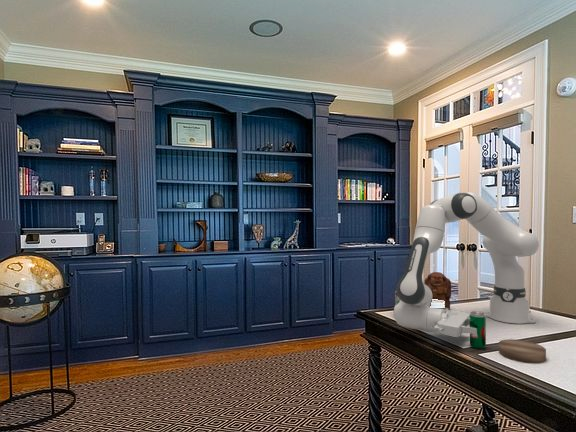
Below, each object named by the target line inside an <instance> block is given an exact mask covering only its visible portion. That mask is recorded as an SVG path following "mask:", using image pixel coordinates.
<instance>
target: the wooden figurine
mask: <svg viewBox="0 0 576 432" xmlns="http://www.w3.org/2000/svg"><path fill="white" fill-rule="evenodd" d="M424 284H426V285H427V286H428V287H429V288H430V289H431V291H432V294H433V297H432V299H438V300H444V301H445V308H448V310H451V298H452V281H451V280H450V278H448V277H447V276H446V275H445V274H444V273H442V272H440V271H439V272H438V271H433V272H430V273H429V274H428V275H427V277H426V278H425V279H424Z"/></svg>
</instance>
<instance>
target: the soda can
mask: <svg viewBox="0 0 576 432" xmlns="http://www.w3.org/2000/svg"><path fill="white" fill-rule="evenodd" d="M469 314H470V325H469V327H476V328H477V333H476V334H474V333H469V346H470V347H471V348H472V349H475V348H476V349H477V350H484V349H485V348H486V347H487V316H485V314H486V313H485V312H483V311H478V310H471V311H470V313H469Z"/></svg>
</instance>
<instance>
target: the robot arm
mask: <svg viewBox="0 0 576 432" xmlns="http://www.w3.org/2000/svg"><path fill="white" fill-rule="evenodd" d="M461 220H466V221H467V222H468V223H469V224H470V225H471V226H472V227H473V228H474V229H475V230H476V231H478V233H479V234H480V235H482V236H483V238H482V244H483V245H482V246H483V247H484V249H486V251H487V252H488V253H489V256H490V259H491V261H492V264H493V267H494V269H493V270H494V286H493V294H494V295H492V296H491V297H490V299H489V311H488V312H486V313H485V316H486V318H491V319H492V320H495V321H498V322H503V323H509V324H519V325H520V324H535V323H536V320H535V317H534V316H533V314H532V313H531V310H530V302H529V301H528V300H527V299H526V297H527V295H526V294H527V291H526V288H525V270H524V268H523V267H522V266H521V265H520V264H519V262H518V260H517V257H518V258H521V257H522V258H525V257H531V256H533V255H535V254H536V253H537V252H538V250H539V247H540V243H539V239H538V237H537V236H536V235H535V234H534V233H531V232H529V231H526V230H524V229H522V228H521V227H519V226H518V225H516V224H515V223H513V222H511V221H510V220H508V219H506V218H505V217H503V216H502V215H501V214H500V213H499V212H498V211H497V210H496V209H495V208H494V207H493V206H492V205H491V204H490V203H489V202H488V201H486V200H485V199H484V198H483V197H481V196H480V195H478V194H477V193H475V192H472V191H468V192H458V193H455V194H449V195H447V196H446V195H445V196H444V197H441V198H439V199H435V200H434V201H432V202H430V203H429V204H426V205H425V206H423V207H422V208H421V210H420V212H419V215H418V218H417V221H416V224H415V225H416V226H415V228H414V235H413V241H412V244H411V246H410V250H409V254H408V258H407V261H406V262H407V263H406V265H405V270H404V272H403V275H402V276H401V278H400V279H399V280H398V283H397V284H396V288H395V289H396V290H395V291H397V295H398V297H399V298H400V302H399V303H398V304H397V305H395V304H394V308H393V317H394V321H395V322H396V323H397V325H399V326H401V327H403V328H408V329H413V330H423V331H426V332H429V333H435V334H440V335H445V336H449V337H455V338H457V337H460V336H461V335H462V334H470V333H474V334H476V333H477V328H476V327H470V314H471V313H467V312H463V311H458V310H453V309H450V310H448V308H430V306H431V302H432V297H433V294H432V291H431V289H430V288H429V287H428V286H427V285H426V284H425V282H424V280H423V275H424V272H425V271H424V270H425V267H426V264H427V263H426V262H427V259H428V257H429V255H430V254H431V253H435V252H437V251H438V250H439V249H440V248H441V246H442V243H443V240H444V236H445V235H444V234H445V230H446V229H445V228H446V224H449V223H455V222H457V221H461Z"/></svg>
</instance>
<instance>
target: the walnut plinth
mask: <svg viewBox="0 0 576 432" xmlns="http://www.w3.org/2000/svg"><path fill="white" fill-rule="evenodd" d="M498 353H499V355H500V356H502V357H504V358H506V359H509V360H510V361H511V360H512V361H515V362H521V363H527V364H542V363H544V362H546V361H547V349H546V348H545V347H544V346H543V345H540V344H538V343H536V342H531V341H527V340H522V339H514V338H512V339H509V338H508V339H501V340H499V342H498Z"/></svg>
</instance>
